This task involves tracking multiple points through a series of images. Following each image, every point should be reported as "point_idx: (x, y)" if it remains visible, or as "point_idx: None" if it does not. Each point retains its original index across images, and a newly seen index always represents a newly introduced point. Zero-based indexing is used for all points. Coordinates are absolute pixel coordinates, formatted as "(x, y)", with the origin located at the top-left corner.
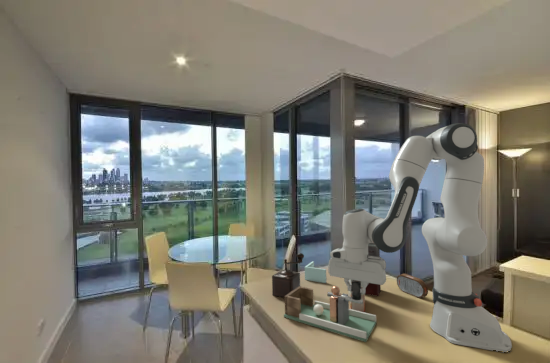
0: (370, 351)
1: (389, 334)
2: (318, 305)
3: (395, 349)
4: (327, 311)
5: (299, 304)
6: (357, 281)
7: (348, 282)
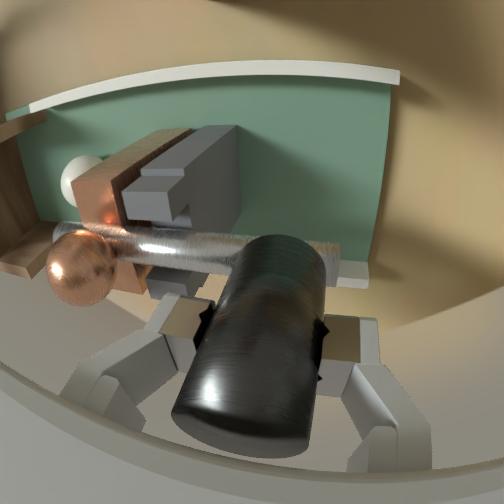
0: (383, 305)
1: (459, 161)
2: (74, 199)
3: (467, 263)
4: (109, 115)
5: (43, 264)
6: (251, 432)
7: (137, 374)
